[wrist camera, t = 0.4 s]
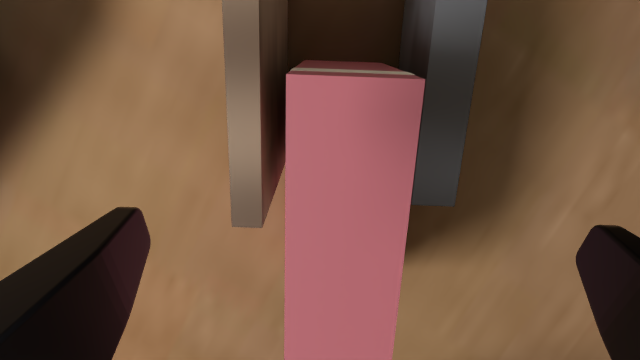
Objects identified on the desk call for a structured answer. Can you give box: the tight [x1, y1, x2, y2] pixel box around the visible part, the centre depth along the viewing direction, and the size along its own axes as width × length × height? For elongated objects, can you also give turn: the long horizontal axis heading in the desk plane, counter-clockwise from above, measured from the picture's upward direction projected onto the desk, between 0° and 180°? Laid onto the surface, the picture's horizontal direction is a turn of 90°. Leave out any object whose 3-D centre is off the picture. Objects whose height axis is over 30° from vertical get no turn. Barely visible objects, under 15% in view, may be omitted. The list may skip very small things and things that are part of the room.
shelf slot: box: [222, 0, 487, 228], centre depth 19 cm, size 10×10×10 cm
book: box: [284, 60, 425, 360], centre depth 20 cm, size 14×4×11 cm, turn 178°
